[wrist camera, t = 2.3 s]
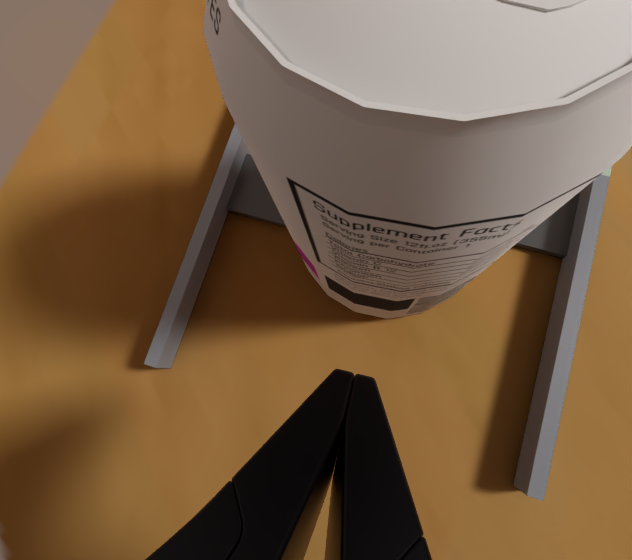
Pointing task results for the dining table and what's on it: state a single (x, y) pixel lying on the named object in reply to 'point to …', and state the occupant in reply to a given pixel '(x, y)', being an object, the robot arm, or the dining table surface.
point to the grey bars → (549, 237)
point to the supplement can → (421, 128)
